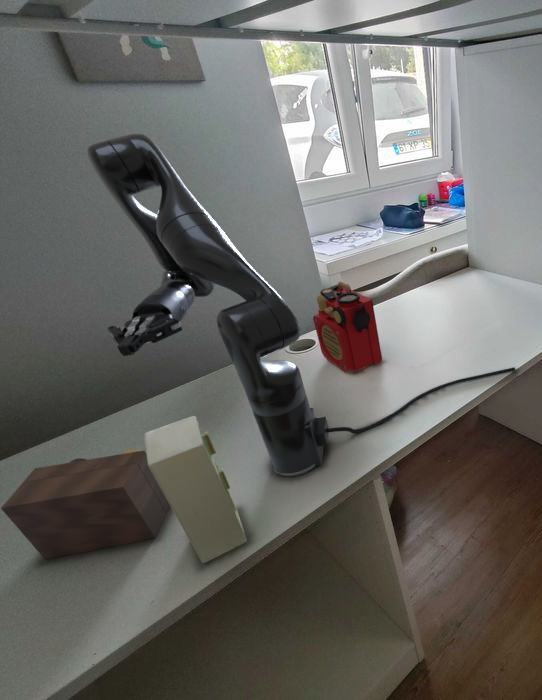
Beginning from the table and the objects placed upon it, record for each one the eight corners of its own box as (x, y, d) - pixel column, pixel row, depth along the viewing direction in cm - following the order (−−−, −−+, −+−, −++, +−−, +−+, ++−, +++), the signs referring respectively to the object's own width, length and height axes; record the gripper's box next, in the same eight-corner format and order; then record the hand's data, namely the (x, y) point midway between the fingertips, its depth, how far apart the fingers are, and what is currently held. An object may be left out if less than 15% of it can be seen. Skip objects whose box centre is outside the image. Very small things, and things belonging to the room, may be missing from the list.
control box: (178, 488, 81) (151, 439, 75) (155, 538, 72) (122, 486, 66) (81, 505, 79) (45, 456, 72) (44, 559, 69) (0, 508, 63)
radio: (321, 356, 119) (303, 287, 109) (353, 342, 125) (339, 275, 115) (352, 378, 109) (336, 305, 99) (386, 362, 115) (374, 291, 105)
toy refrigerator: (253, 539, 71) (208, 441, 60) (203, 565, 67) (145, 465, 57) (242, 507, 76) (199, 412, 66) (195, 530, 73) (141, 432, 62)
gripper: (120, 298, 90) (72, 337, 75) (189, 289, 92) (157, 326, 77) (136, 330, 93) (94, 374, 79) (202, 322, 95) (174, 363, 81)
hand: (125, 351), depth 78 cm, fingers closed
